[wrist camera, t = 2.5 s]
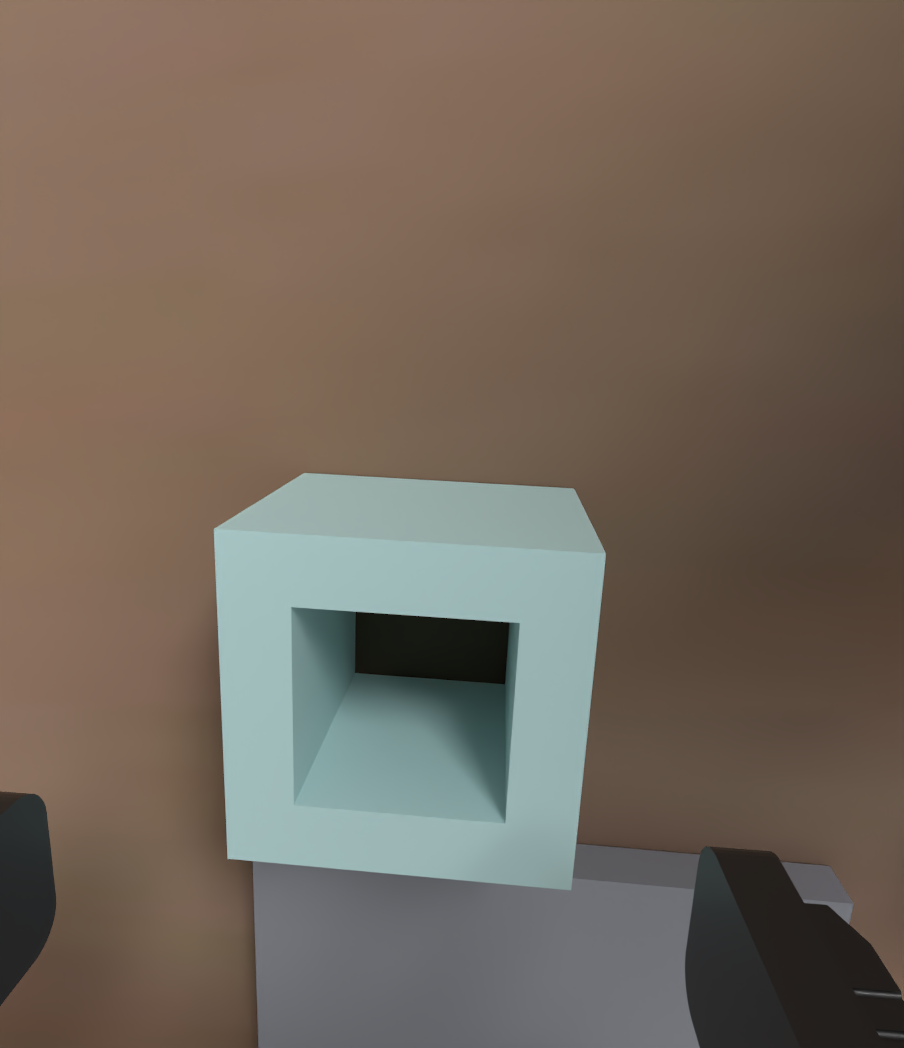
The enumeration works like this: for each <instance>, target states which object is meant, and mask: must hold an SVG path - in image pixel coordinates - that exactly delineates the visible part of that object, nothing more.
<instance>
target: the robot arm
mask: <svg viewBox="0 0 904 1048" xmlns="http://www.w3.org/2000/svg"><path fill="white" fill-rule="evenodd" d="M55 910H56V893H55V884H54V875H53V866H52V857H51V848H50V839H49V830H48V821H47V812H46V807H45V804H44V802H43V800H42V799H41V798H40V797H39V796H38V795H35V794H26V793H13V792H0V1006H1V1004H2V1003H3V1002H4V1000H5V999H6V998H7V996H8V995H9V994H10V993H11V991H12V990H13V989H14V987H15V986H16V985H17V983H18V982H19V981H20V980H21V978H22V977H23V976H24V974H25V973H26V972H27V970H28V969H29V968H30V967H31V965H32V964H33V963H34V961H35V960H36V958H37V957H38V956H39V954H40V952H41V951H42V949H43V947H44V945H45V943H46V941H47V938H48V936H49V933H50V930H51V927H52V924H53V920H54V916H55ZM685 982H686V992H687V1000H688V1006H689V1011H690V1015H691V1019H692V1023H693V1026H694V1030H695V1033H696V1037H697V1040H698V1043H699V1047H700V1048H904V1001H903V1000H902V996H901V991H900V989H899V987H898V986H897V984H896V983H895V981H894V980H893V978H892V977H891V975H890V973H889V972H888V970H887V969H886V967H885V966H884V964H883V962H882V961H881V959H880V958H879V956H878V955H877V953H876V952H875V950H874V948H873V947H872V945H871V944H870V943H869V942H868V941H867V940H865V939H864V938H863V937H862V936H861V935H860V934H859V933H858V932H857V931H856V930H854V929H853V928H852V927H851V926H850V925H849V924H848V923H847V922H846V921H845V920H843V919H842V918H841V917H840V916H839V915H838V914H837V913H836V912H835V911H834V910H832V909H831V908H830V907H829V906H828V905H823V904H810V903H804V902H803V900H802V898H801V896H800V895H799V893H798V891H797V889H796V888H795V886H794V884H793V882H792V881H791V879H790V877H789V875H788V873H787V872H786V870H785V868H784V866H783V865H782V863H781V861H780V860H779V858H778V857H777V856H776V855H775V854H774V853H773V852H770V851H759V850H746V849H732V848H719V847H704V848H703V850H702V852H701V854H700V857H699V862H698V868H697V875H696V882H695V889H694V896H693V904H692V911H691V918H690V925H689V932H688V939H687V946H686V955H685Z"/></svg>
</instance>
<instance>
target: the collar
mask: <svg viewBox="0 0 904 1048" xmlns="http://www.w3.org/2000/svg"><path fill="white" fill-rule="evenodd" d="M214 544H215V568H216V592H217V616H218V640H219V664H220V688H221V712H222V736H223V760H224V784H225V808H226V832H227V856H228V859H236V860H247V861H258V862H269V863H280V864H290V865H301V866H312V867H323V868H334V869H345V870H356V871H366V872H377V873H388V874H399V875H410V876H421V877H431V878H442V879H453V880H464V881H475V882H486V883H496V884H507V885H518V886H529V887H540V888H551V889H561V890H571V888H572V878H573V868H574V859H575V849H576V839H577V830H578V820H579V810H580V801H581V791H582V781H583V772H584V762H585V752H586V743H587V733H588V723H589V714H590V704H591V694H592V685H593V675H594V665H595V656H596V646H597V636H598V627H599V617H600V607H601V598H602V588H603V578H604V569H605V559H606V553H605V551H604V549H603V546H602V544H601V542H600V540H599V538H598V536H597V534H596V532H595V530H594V528H593V526H592V524H591V522H590V520H589V518H588V516H587V514H586V512H585V510H584V508H583V506H582V504H581V502H580V500H579V498H578V496H577V494H576V492H575V490H574V488H557V487H539V486H522V485H505V484H487V483H470V482H453V481H435V480H418V479H400V478H383V477H366V476H348V475H331V474H314V473H303V474H302V475H300V476H298V477H297V478H295V479H294V480H292V481H290V482H289V483H287V484H286V485H284V486H282V487H281V488H279V489H277V490H276V491H274V492H273V493H271V494H269V495H268V496H266V497H265V498H263V499H261V500H260V501H258V502H257V503H255V504H253V505H252V506H250V507H248V508H247V509H245V510H244V511H242V512H240V513H239V514H237V515H236V516H234V517H232V518H231V519H229V520H228V521H226V522H224V523H223V524H221V525H219V526H218V527H216V528H215V529H214ZM356 612H368V613H382V614H397V615H411V616H426V617H440V618H454V619H469V620H483V621H498V622H509V636H508V651H507V665H506V680H505V684H494V683H481V682H468V681H454V680H441V679H428V678H414V677H401V676H388V675H374V674H361V673H355V626H356Z"/></svg>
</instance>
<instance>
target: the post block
mask: <svg viewBox="0 0 904 1048" xmlns="http://www.w3.org/2000/svg"><path fill="white" fill-rule="evenodd" d="M699 857H700V855H699V854H688V853H676V852H665V851H654V850H642V849H631V848H620V847H608V846H597V845H586V844H576V849H575V859H574V868H573V878H572V888H571V890H561V889H551V888H540V887H529V886H518V885H507V884H496V883H486V882H475V881H464V880H453V879H442V878H431V877H421V876H410V875H399V874H388V873H377V872H366V871H356V870H345V869H334V868H323V867H312V866H301V865H290V864H280V863H269V862H258V861H253V890H254V921H255V953H256V985H257V1017H258V1048H700V1047H699V1043H698V1040H697V1037H696V1033H695V1030H694V1026H693V1023H692V1019H691V1015H690V1011H689V1006H688V1000H687V992H686V982H685V955H686V946H687V939H688V932H689V925H690V918H691V911H692V904H693V896H694V889H695V882H696V875H697V868H698V862H699ZM781 863H782V865H783V866H784V868H785V870H786V872H787V873H788V875H789V877H790V879H791V881H792V882H793V884H794V886H795V888H796V889H797V891H798V893H799V895H800V896H801V898H802V900H803V902H804V903H810V904H823V905H828V906H829V907H830V908H831V909H832V910H834V911H835V912H836V913H837V914H838V915H839V916H840V917H841V918H842V919H843V920H845V921H846V922H847V923H848V924H849V923H850V918H851V914H852V910H853V905H854V903H853V902H852V900H851V899H850V897H849V896H848V894H847V892H846V891H845V889H844V888H843V886H842V884H841V883H840V881H839V880H838V878H837V876H836V875H835V873H834V872H833V870H832V868H831V867H830V866H824V865H812V864H801V863H790V862H781Z"/></svg>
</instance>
